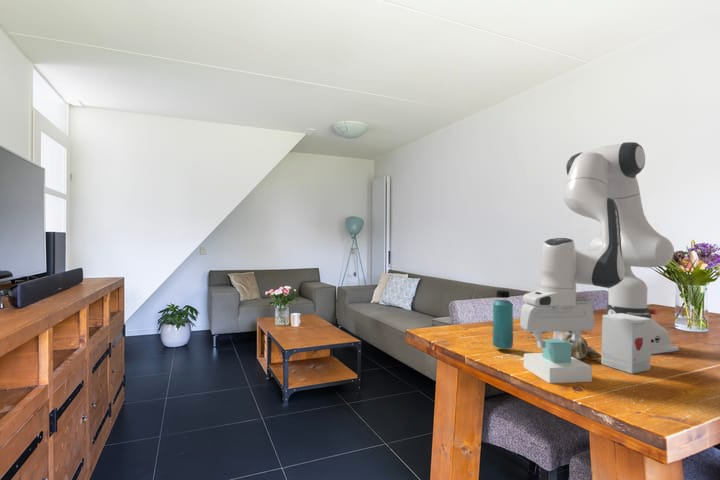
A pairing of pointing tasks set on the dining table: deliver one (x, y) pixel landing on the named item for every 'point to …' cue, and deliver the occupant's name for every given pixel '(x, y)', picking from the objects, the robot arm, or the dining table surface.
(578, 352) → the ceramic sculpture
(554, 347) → the cube
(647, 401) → the dining table surface
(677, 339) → the dining table surface
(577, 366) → the stand
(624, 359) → the supplement box
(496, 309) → the beverage bottle
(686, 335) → the dining table surface
